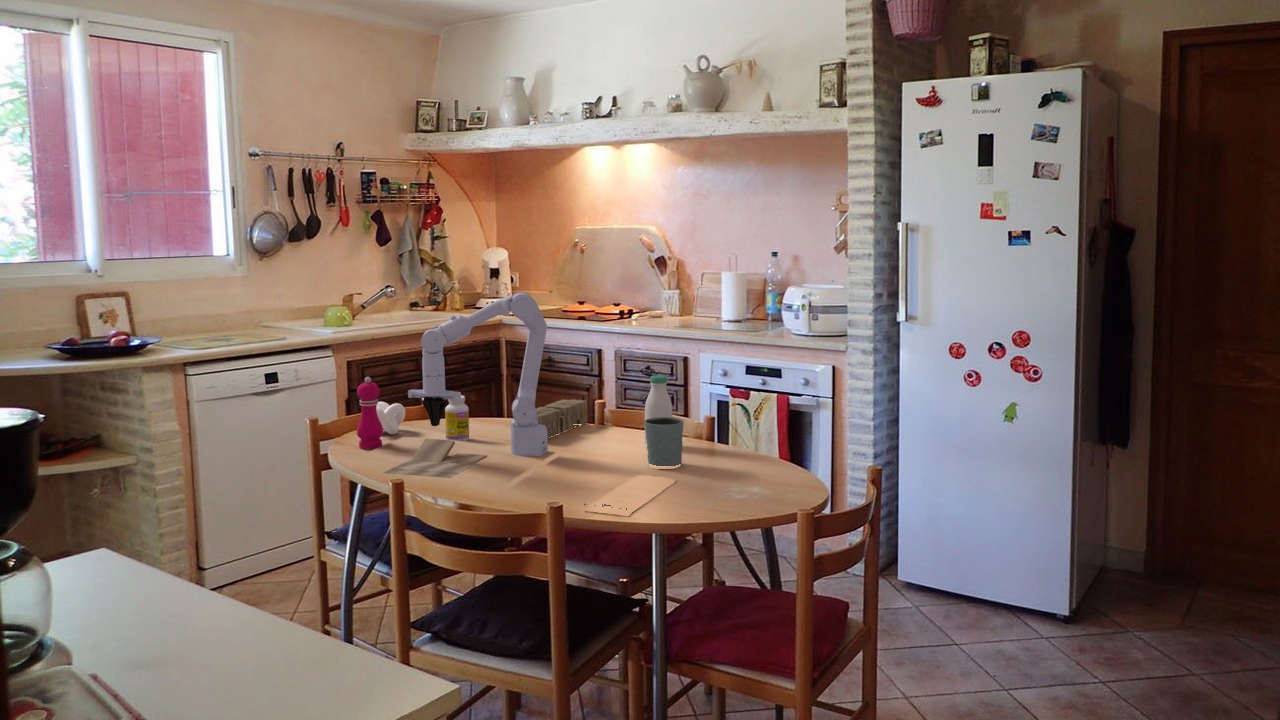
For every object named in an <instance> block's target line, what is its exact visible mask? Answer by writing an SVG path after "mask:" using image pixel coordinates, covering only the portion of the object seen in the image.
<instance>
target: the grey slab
mask: <svg viewBox="0 0 1280 720" xmlns="http://www.w3.org/2000/svg"><path fill="white" fill-rule="evenodd" d="M473 466H474V464H472V465H469V464H456V463H442V462H429V461H415V460H412V459H408V460H406V461H404V462H402V463H400V464H398V465H395V466H394V467H392V468H390V469H388V470H385V471H383V474H392V475H393V474H395V475H408V476H409V475H410V476H422V477H434V478H446V479H451V478H453V477H454V476H456V475H458V474H460V473H462V472H464V471H465V470H468V468H471V467H473Z"/></svg>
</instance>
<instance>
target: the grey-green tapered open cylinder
mask: <svg viewBox="0 0 1280 720" xmlns="http://www.w3.org/2000/svg"><path fill="white" fill-rule="evenodd" d="M683 431H684V420H683V418H680V417H679V418H678V417H675V416H672V417H657V418H650V419H647V420H645V419H644V433H645V432H646V440H647V447H646V450H647V463H649V464H652V465H656V466H676V465H679V464H681V465H682V461H683V453H682V452H683V437H684V436H683V434H684V433H683Z"/></svg>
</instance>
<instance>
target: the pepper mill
mask: <svg viewBox="0 0 1280 720" xmlns="http://www.w3.org/2000/svg"><path fill="white" fill-rule="evenodd" d="M356 393H357V396H358V398H359V406H361V415H360V419H359V422H358V424H357V428H356V435H357V437H358V438H359V439H360V440H359V442H358V447H359V449H361V448H362V450H377V449H379V448H381V447H383V440H382V439H381V437H382V436H383V435H384V430H383V427H382V424H381V422H380V420H379V418H378V415H377V410H376V407H377V404H378V402H379V399H378V396H379V395H380V388H379V386H378V385H377V384H376V383H375V382H372V379H371V377H370V376H366V377H365V378H364V382H363V383H361V384H360V385H358V387H357V388H356ZM376 448H377V449H376Z"/></svg>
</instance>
